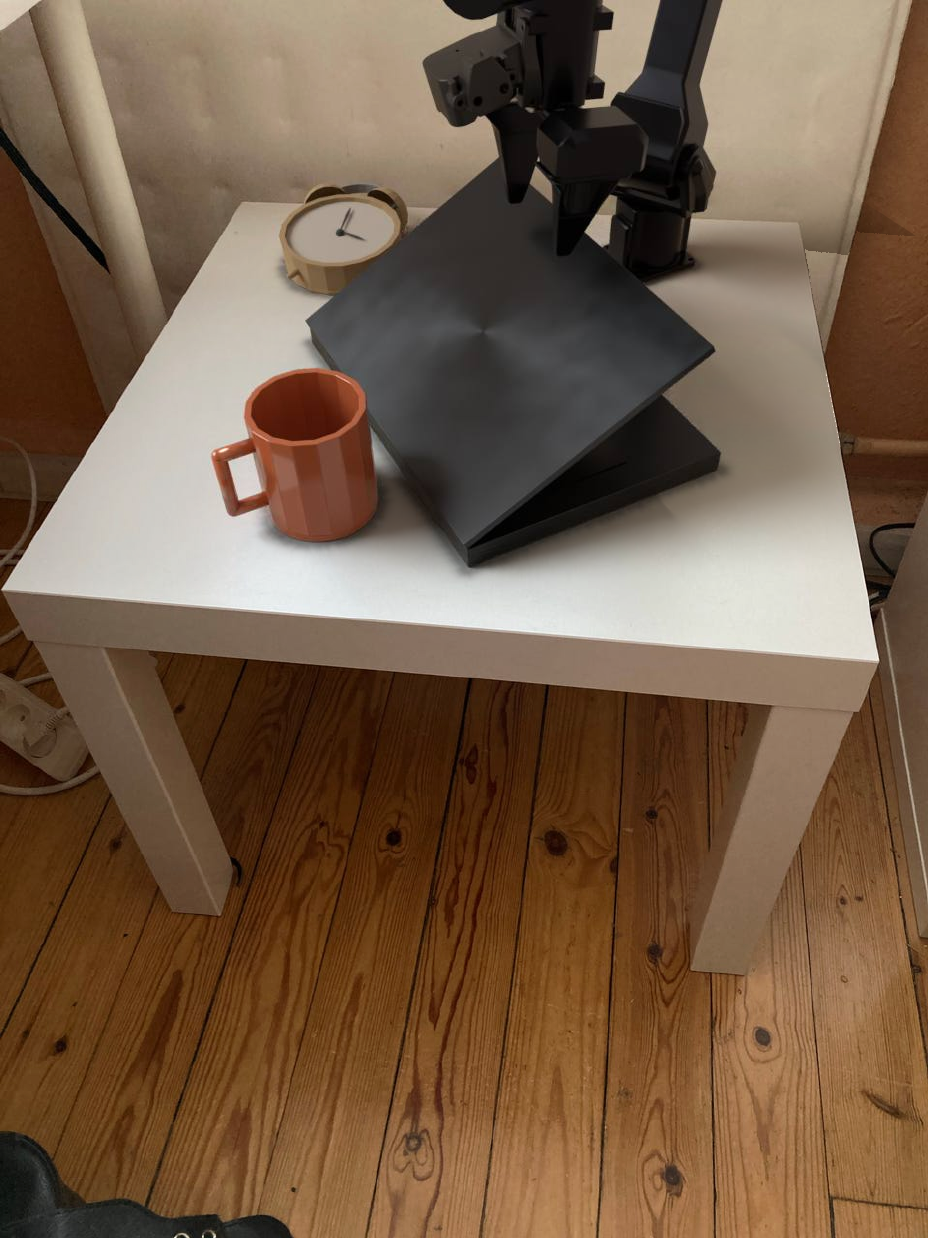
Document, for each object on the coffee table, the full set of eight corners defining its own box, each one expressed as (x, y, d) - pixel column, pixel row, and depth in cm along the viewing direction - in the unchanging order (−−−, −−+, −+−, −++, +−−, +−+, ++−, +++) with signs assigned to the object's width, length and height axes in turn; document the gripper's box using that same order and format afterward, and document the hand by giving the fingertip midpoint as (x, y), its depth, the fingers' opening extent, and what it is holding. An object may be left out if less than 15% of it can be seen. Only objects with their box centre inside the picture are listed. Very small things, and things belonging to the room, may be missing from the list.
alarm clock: (262, 263, 92) (306, 155, 99) (274, 305, 96) (315, 199, 103) (383, 273, 90) (419, 163, 97) (390, 315, 94) (424, 207, 101)
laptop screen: (502, 162, 85) (499, 156, 84) (716, 352, 67) (714, 345, 67) (309, 325, 87) (304, 320, 87) (467, 550, 70) (463, 545, 69)
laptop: (524, 277, 94) (525, 258, 93) (717, 470, 77) (722, 451, 75) (312, 343, 89) (309, 324, 87) (468, 567, 71) (467, 549, 70)
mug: (353, 452, 79) (338, 355, 72) (396, 518, 75) (385, 420, 68) (216, 499, 76) (187, 403, 69) (252, 571, 72) (225, 475, 65)
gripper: (394, -46, 69) (396, 189, 80) (491, 37, 56) (478, 300, 67) (547, -52, 72) (528, 175, 82) (671, 25, 59) (630, 280, 70)
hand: (537, 227), depth 75 cm, fingers open, 9 cm apart
